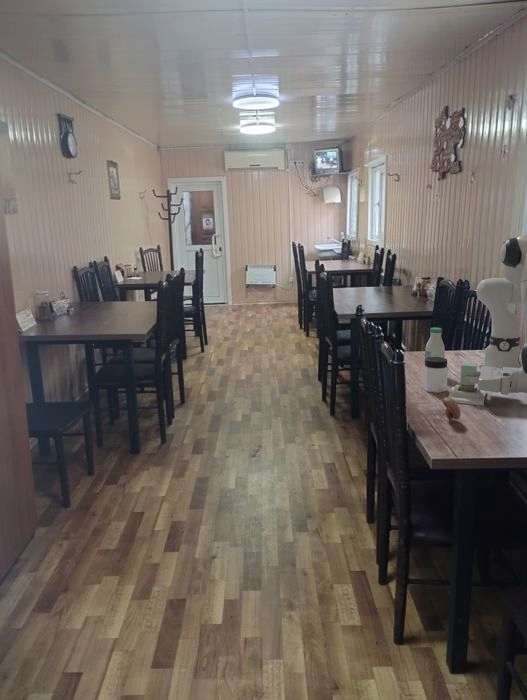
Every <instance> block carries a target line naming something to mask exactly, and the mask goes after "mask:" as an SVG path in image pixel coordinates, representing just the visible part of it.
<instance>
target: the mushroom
mask: <svg viewBox="0 0 527 700" xmlns="http://www.w3.org/2000/svg"><path fill="white" fill-rule="evenodd" d="M441 402H442V404H443V406H444V407H445V416H446V418H447V419H448V421H449V422H451V421H453V420H459V419H460V418H461V410H460V407H459V405H458V403H456V402H455V401H454V400H453V399H452V398H449V397H448V396H445V397H443V398H442V400H441Z"/></svg>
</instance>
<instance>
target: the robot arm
mask: <svg viewBox="0 0 527 700" xmlns="http://www.w3.org/2000/svg"><path fill="white" fill-rule="evenodd" d="M499 256H500V261H501V263H502V264H503V265H502V270H501V271H502V275H503V276H504V277H491V278H485V279H482V280H481V281H480V282H479V283H478V284H477V287H476V291H475V292H476V297H477V299H478V300H479V301H480V302H481V303H482V304H483V305H484V306H486V308H487V310H488V311H489V313H490V317H491V334H490V336H489V345H488V346H487V347H486V348H485V349H484V357H483V359H484V360H483V361H481V362H480V363H479V366H478V367H480V370H477V372H476V377H472V376H465V381H468V382H472V383H475V385H476V384H477V387H478V389H480V390H484V391H486V392H489V393H490V392H492V393H500V395H504V396H505V395H506V396H507V395H509V394H511V393H513V394H522V393H525V394H527V234H526V233H525V234H524V233H523V234H522V235H519V236H518V237H511V238H508V239H505V241H503V243H502V245H501V247H500V250H499ZM508 305H522V307H523V312H524V317H525V326H524V327H525V328H524V329H525V330H524V341H523V346H522V347H520V345H521V337H520V332H521V322H522V321H521V318H520V316H518V315H517V314H516V313H514V312H512V311H509V310H508Z"/></svg>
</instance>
